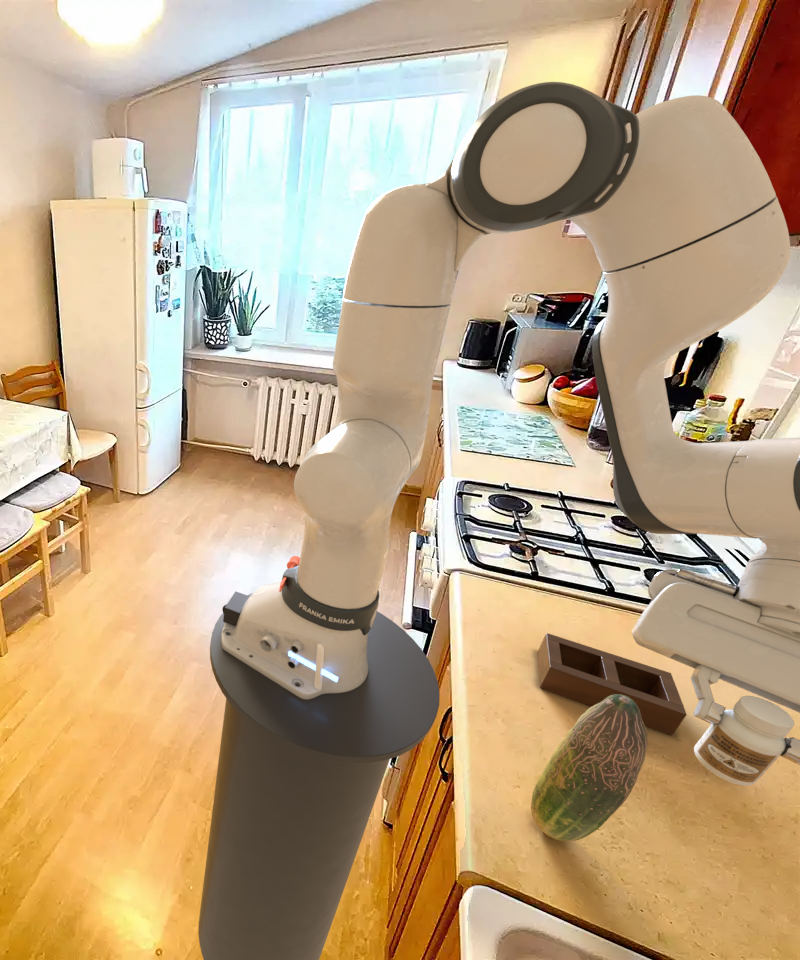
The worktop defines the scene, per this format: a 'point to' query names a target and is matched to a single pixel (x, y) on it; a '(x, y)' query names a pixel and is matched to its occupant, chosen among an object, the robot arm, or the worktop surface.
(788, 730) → the pill bottle
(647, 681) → the holder
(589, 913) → the worktop surface
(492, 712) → the worktop surface
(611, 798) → the vegetable
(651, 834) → the worktop surface
